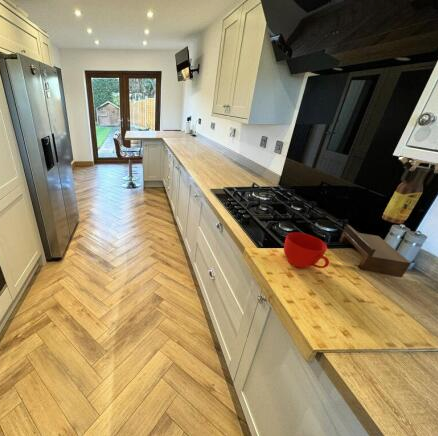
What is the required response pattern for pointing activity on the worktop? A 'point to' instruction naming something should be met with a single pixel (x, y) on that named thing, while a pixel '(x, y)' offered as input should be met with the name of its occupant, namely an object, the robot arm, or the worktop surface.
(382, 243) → the brown wooden stand
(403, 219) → the sauce bottle
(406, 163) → the robot arm
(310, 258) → the ceramic cup
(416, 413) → the worktop surface
